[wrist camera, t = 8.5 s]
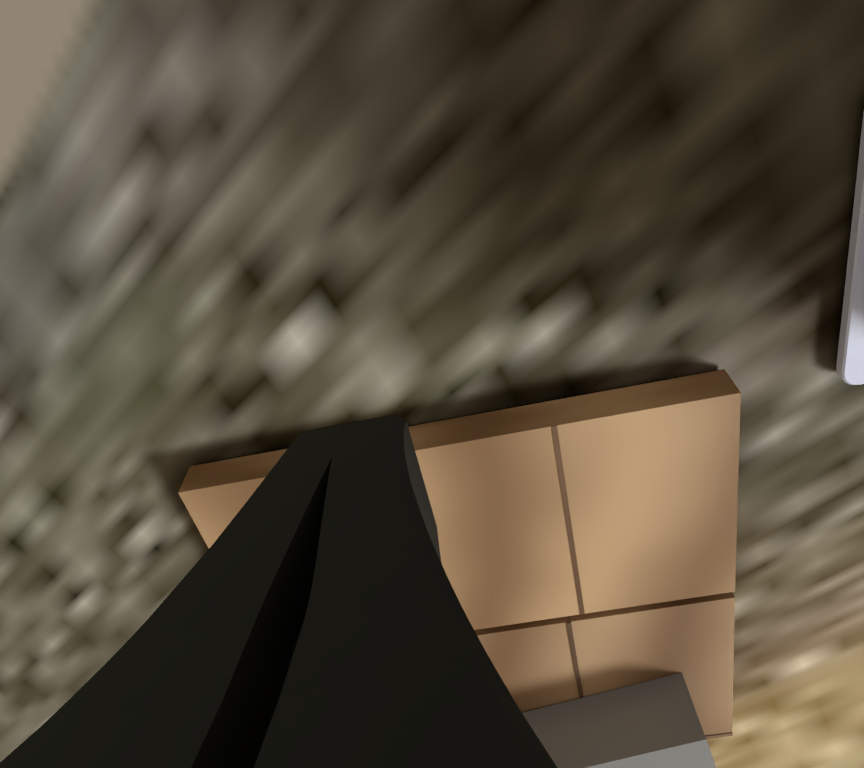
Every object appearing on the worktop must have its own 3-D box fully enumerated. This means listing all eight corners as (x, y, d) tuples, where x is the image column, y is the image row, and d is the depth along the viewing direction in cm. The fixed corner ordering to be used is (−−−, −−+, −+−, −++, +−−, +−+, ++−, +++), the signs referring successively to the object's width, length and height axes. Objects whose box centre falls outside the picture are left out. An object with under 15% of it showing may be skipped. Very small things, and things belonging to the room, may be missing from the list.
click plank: (276, 631, 25) (270, 660, 24) (189, 466, 21) (177, 493, 20) (721, 563, 24) (735, 592, 23) (724, 369, 20) (740, 393, 18)
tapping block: (681, 672, 25) (706, 739, 23) (697, 718, 26) (722, 784, 24) (498, 718, 26) (505, 786, 24) (523, 759, 28) (531, 826, 26)
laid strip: (721, 569, 24) (735, 598, 23) (720, 706, 28) (732, 735, 27) (279, 637, 26) (272, 666, 25) (340, 756, 30) (336, 785, 29)
